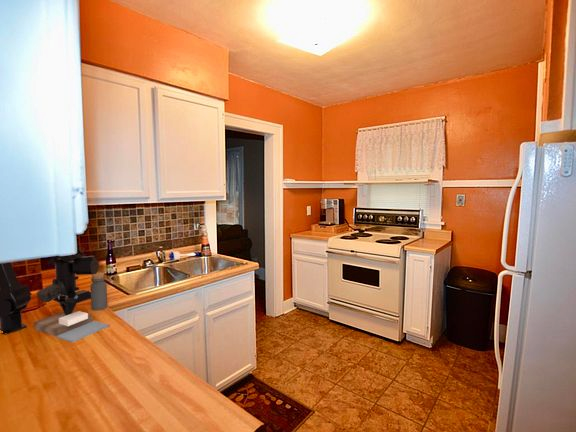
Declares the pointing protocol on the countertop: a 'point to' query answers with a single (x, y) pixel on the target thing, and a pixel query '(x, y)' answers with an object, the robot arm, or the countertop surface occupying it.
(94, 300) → the bottle
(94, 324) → the mat
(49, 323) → the step
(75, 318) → the pale pink rectangular block
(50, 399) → the countertop surface
